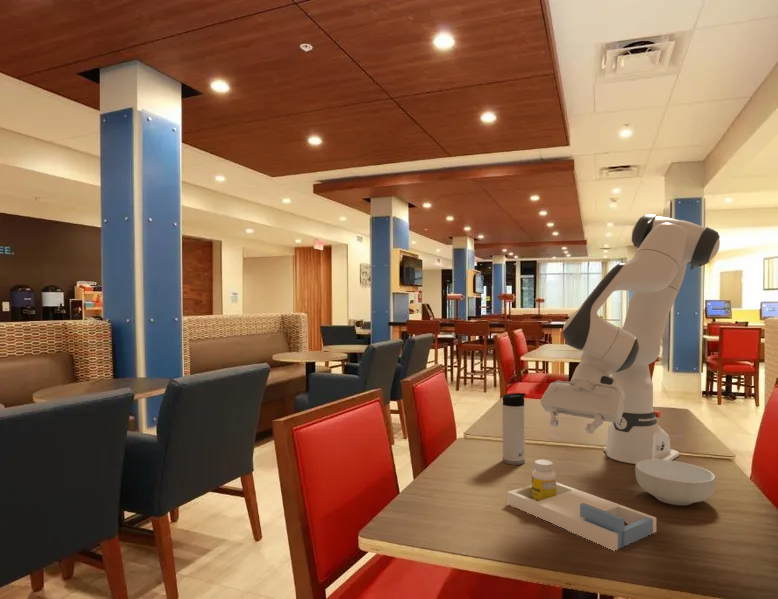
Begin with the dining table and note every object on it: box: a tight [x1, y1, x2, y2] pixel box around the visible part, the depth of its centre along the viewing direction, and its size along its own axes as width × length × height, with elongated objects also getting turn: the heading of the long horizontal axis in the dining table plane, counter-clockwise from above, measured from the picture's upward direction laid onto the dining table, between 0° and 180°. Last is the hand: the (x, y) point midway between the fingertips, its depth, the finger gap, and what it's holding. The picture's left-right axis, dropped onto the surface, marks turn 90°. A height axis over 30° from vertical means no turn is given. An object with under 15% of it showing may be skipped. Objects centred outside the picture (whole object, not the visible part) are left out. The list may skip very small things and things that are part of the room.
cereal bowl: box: [634, 459, 716, 506], centre depth 124 cm, size 17×17×7 cm
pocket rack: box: [507, 481, 657, 552], centre depth 114 cm, size 14×27×6 cm, turn 33°
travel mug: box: [502, 392, 527, 466], centre depth 153 cm, size 6×7×20 cm
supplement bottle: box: [531, 459, 557, 501], centre depth 121 cm, size 5×5×10 cm
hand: (570, 428), depth 129 cm, fingers open, 8 cm apart
